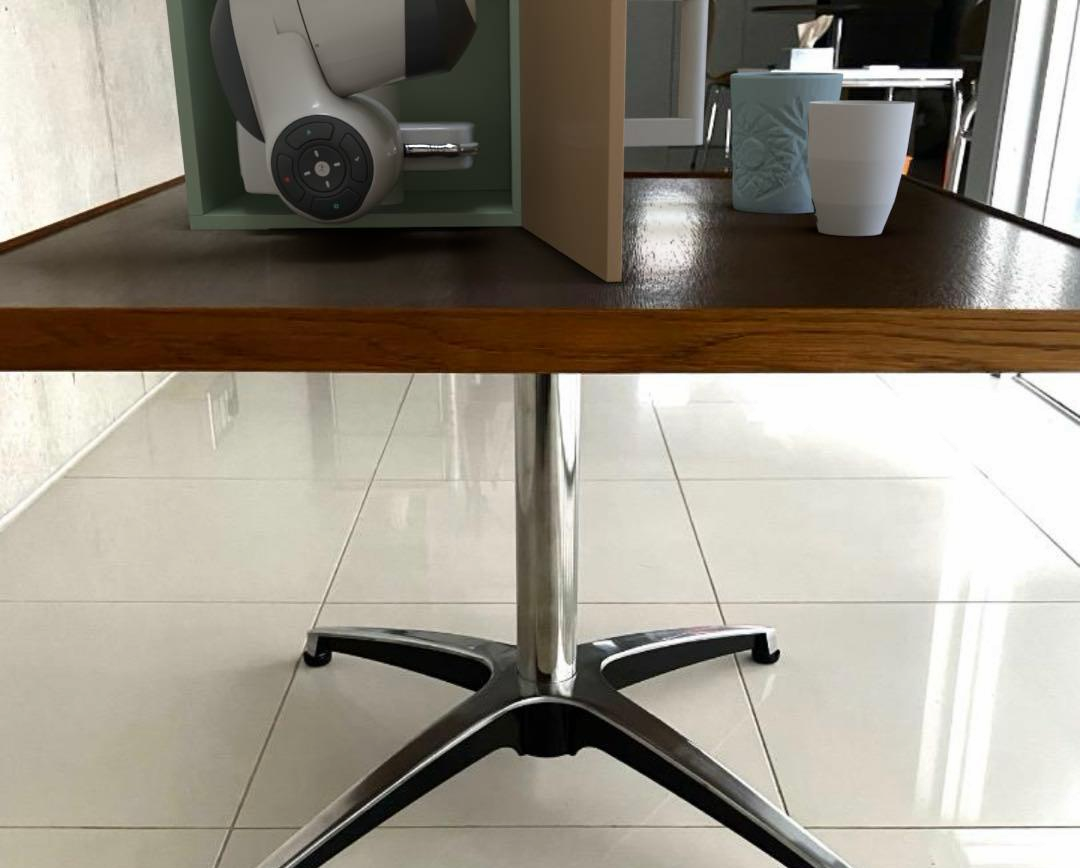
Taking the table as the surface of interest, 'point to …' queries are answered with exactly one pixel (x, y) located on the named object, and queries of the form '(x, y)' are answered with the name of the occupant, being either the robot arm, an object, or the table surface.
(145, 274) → the table surface
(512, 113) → the cupboard
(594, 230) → the cupboard door
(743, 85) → the embossed blue planter
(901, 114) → the cup
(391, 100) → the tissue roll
